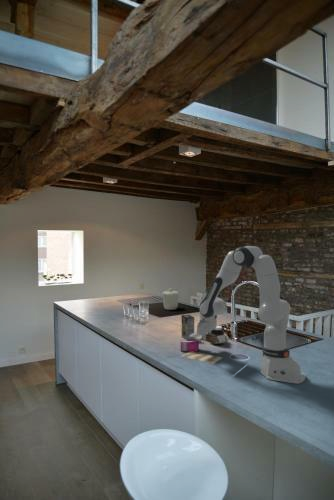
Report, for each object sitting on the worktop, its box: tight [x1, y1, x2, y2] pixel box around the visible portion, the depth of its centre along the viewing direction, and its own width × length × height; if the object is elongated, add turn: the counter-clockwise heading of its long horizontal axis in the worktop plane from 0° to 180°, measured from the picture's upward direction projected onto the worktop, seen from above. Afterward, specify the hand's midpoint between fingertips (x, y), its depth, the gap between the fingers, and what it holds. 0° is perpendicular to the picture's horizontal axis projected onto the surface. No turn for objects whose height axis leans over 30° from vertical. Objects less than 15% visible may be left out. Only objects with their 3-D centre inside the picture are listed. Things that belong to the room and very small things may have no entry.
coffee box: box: [181, 314, 195, 341], centre depth 247 cm, size 9×6×16 cm
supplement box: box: [180, 340, 200, 352], centre depth 219 cm, size 6×6×12 cm
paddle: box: [189, 332, 217, 344], centre depth 217 cm, size 17×8×4 cm, turn 62°
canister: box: [161, 287, 180, 311], centre depth 349 cm, size 18×18×21 cm
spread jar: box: [211, 325, 230, 346], centre depth 235 cm, size 12×11×12 cm
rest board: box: [181, 351, 223, 365], centre depth 206 cm, size 22×12×1 cm, turn 55°
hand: (206, 338), depth 216 cm, fingers closed on paddle, 3 cm apart
